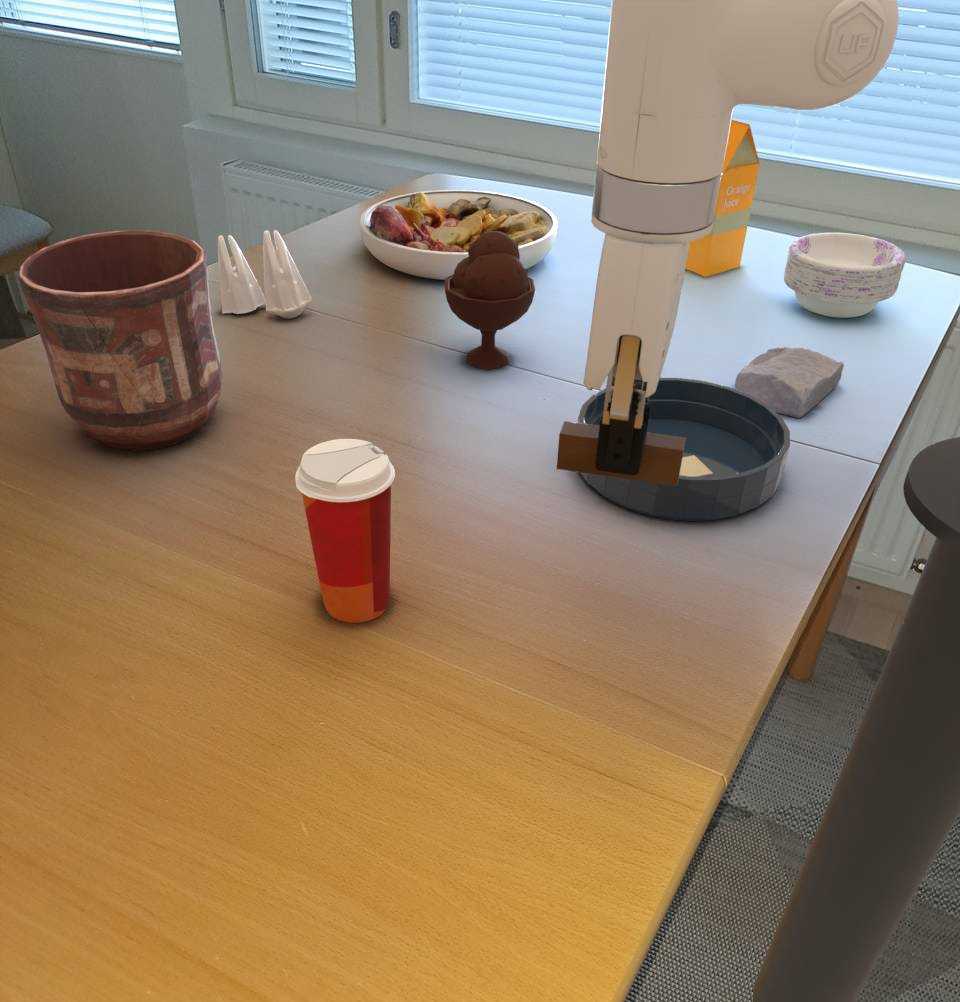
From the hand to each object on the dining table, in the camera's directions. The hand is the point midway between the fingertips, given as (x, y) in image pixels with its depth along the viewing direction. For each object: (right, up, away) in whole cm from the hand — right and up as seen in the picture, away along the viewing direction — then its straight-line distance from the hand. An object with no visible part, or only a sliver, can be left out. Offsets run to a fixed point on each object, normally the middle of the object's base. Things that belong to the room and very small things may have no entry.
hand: (619, 460), depth 70 cm
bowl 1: (-14, +47, +77) cm, 91 cm away
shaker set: (-39, +31, +58) cm, 76 cm away
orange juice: (+24, +44, +75) cm, 90 cm away
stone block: (+26, +16, +43) cm, 53 cm away
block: (+10, +1, +24) cm, 26 cm away
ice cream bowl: (-9, +22, +48) cm, 54 cm away
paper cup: (-21, -10, +12) cm, 26 cm away
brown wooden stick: (0, -1, +1) cm, 1 cm away
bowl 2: (+10, +5, +29) cm, 31 cm away
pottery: (-47, +10, +34) cm, 59 cm away
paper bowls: (+39, +34, +63) cm, 82 cm away
